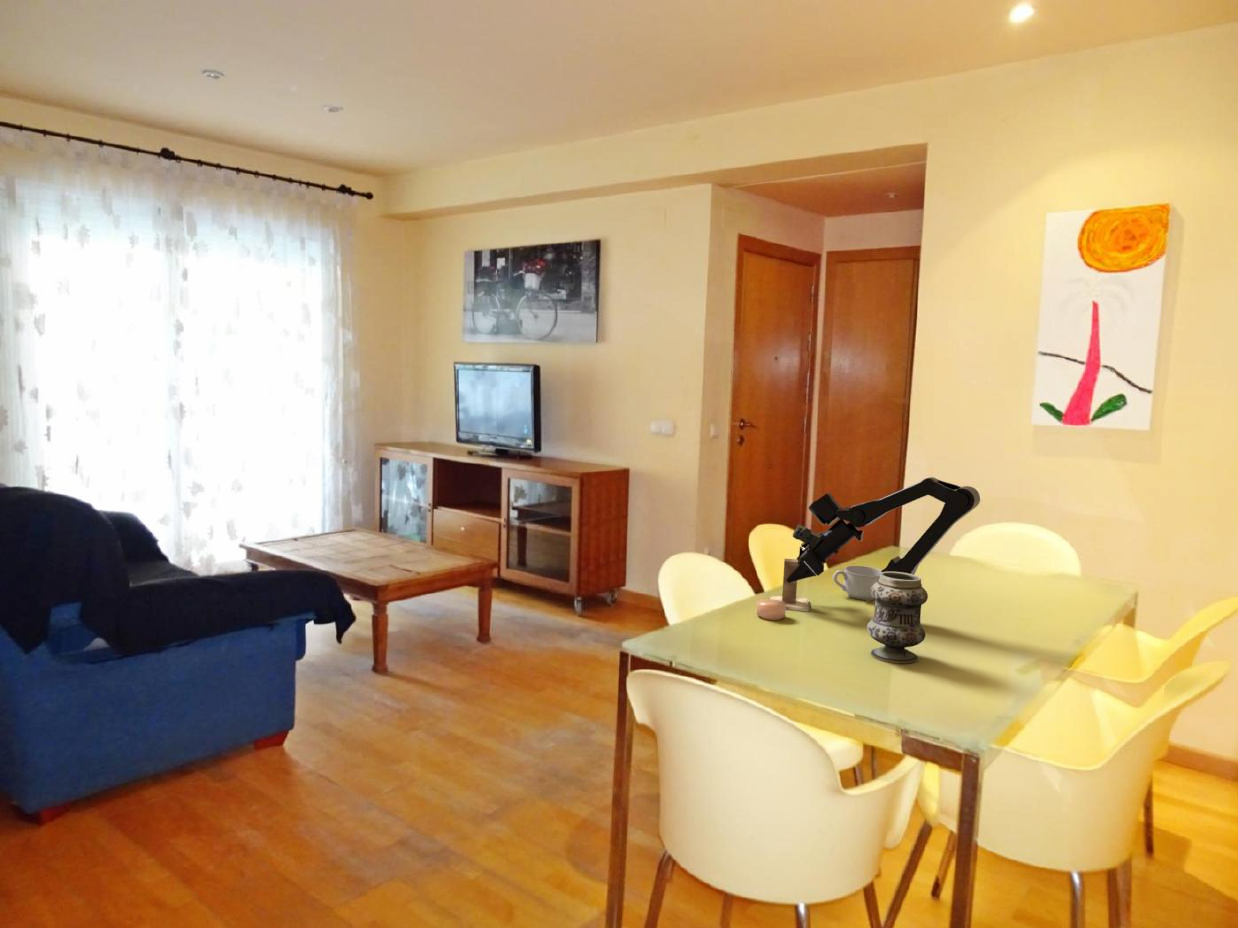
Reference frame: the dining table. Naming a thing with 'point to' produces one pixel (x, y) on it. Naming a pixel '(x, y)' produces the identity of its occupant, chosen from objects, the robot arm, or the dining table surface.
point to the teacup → (858, 581)
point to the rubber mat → (801, 611)
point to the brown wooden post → (791, 589)
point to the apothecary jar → (897, 616)
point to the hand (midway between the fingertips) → (787, 577)
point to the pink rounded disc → (771, 609)
